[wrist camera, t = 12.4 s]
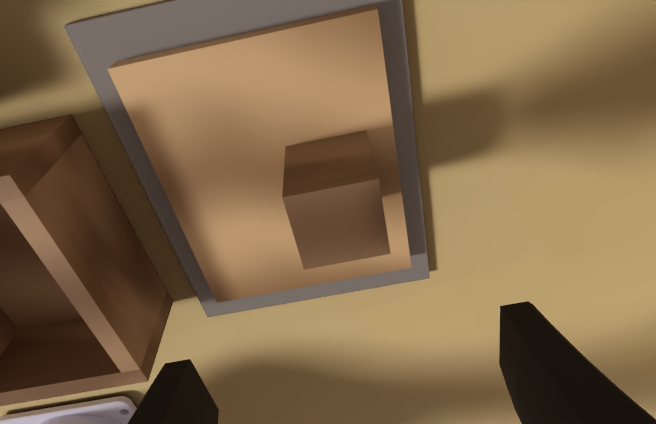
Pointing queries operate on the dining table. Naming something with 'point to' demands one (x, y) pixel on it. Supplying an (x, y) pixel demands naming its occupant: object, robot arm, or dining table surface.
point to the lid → (276, 152)
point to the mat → (223, 21)
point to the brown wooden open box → (69, 272)
